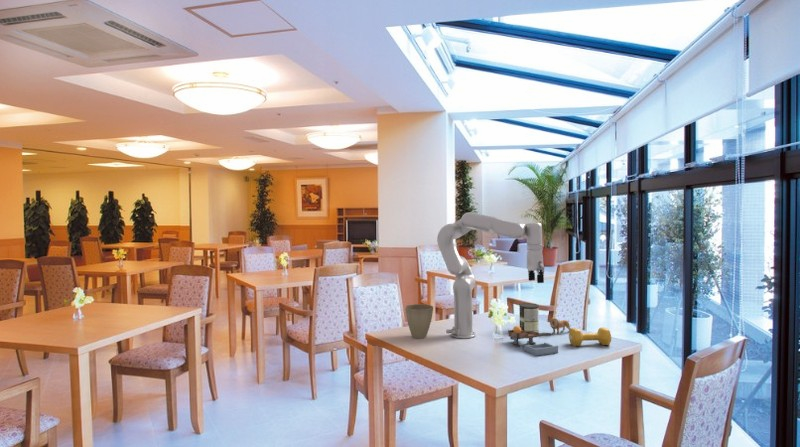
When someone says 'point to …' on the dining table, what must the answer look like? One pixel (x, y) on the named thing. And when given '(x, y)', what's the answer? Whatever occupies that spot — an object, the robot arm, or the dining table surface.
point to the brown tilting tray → (526, 334)
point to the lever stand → (517, 341)
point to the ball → (517, 329)
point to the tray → (541, 349)
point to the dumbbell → (589, 336)
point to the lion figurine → (559, 325)
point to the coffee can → (529, 317)
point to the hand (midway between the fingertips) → (536, 281)
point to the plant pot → (419, 319)
